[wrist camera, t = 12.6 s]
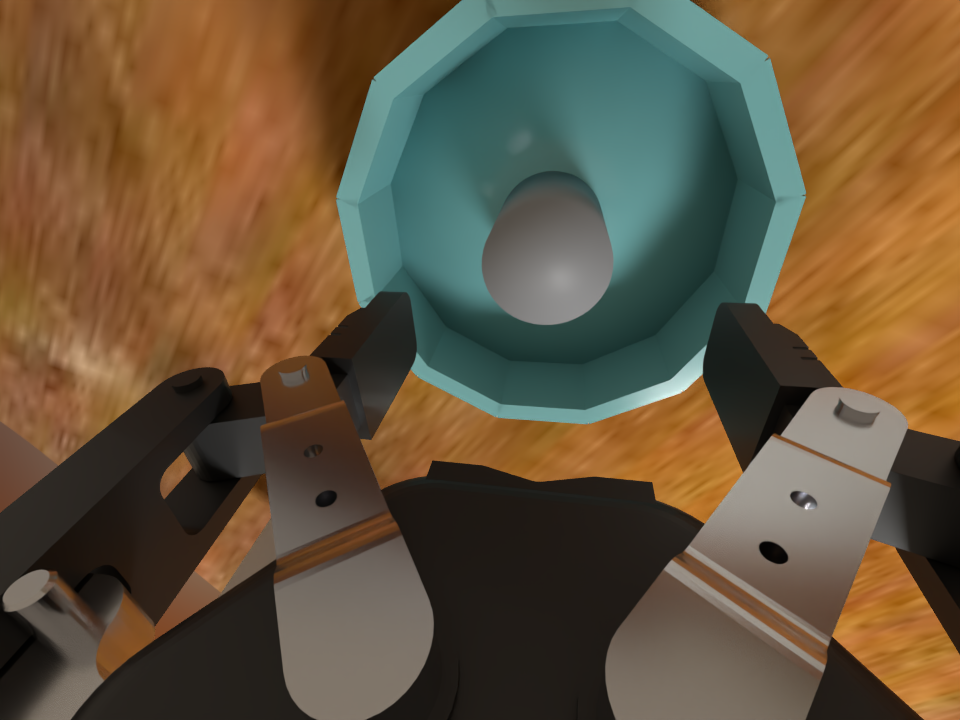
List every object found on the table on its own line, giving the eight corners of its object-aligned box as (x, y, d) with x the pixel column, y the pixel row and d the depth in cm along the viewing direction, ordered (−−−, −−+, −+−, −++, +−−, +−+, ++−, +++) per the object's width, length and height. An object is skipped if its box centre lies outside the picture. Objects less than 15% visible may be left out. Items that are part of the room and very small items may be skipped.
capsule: (608, 169, 17) (621, 199, 13) (597, 274, 20) (605, 327, 16) (498, 171, 18) (478, 200, 14) (500, 272, 21) (484, 322, 16)
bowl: (806, -22, 14) (892, -55, 10) (698, 374, 23) (724, 433, 19) (353, 14, 17) (293, -3, 13) (407, 359, 25) (380, 409, 21)
